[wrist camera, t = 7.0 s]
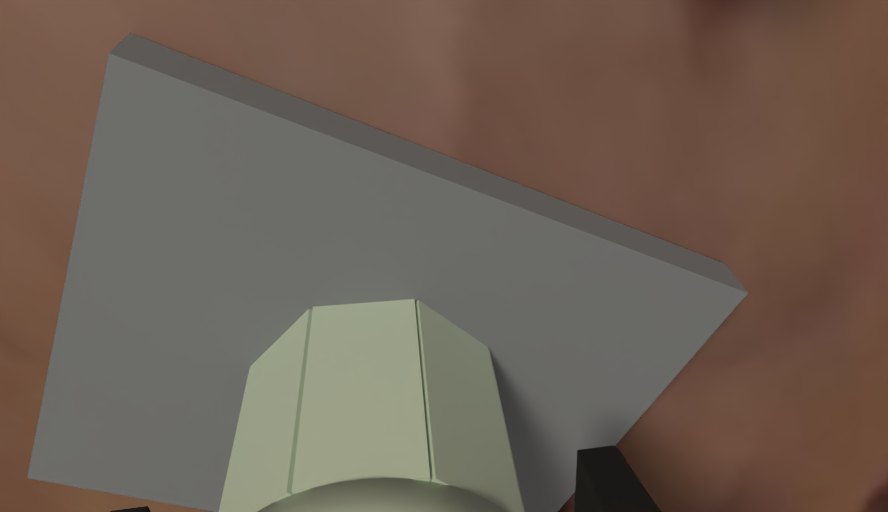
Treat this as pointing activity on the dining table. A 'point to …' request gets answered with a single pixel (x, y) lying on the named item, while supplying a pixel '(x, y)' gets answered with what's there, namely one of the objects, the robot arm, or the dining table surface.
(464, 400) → the cap
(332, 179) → the mat
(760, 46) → the dining table surface
